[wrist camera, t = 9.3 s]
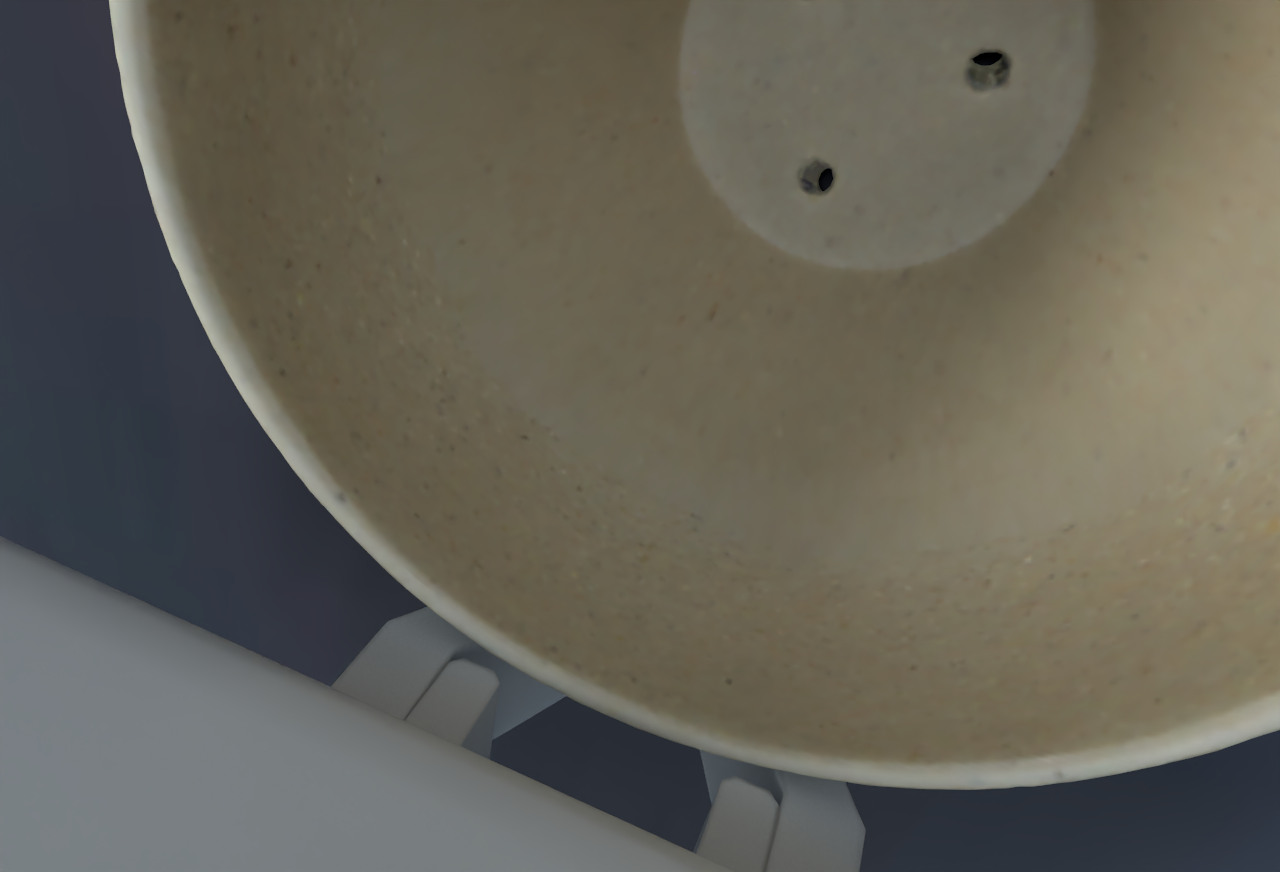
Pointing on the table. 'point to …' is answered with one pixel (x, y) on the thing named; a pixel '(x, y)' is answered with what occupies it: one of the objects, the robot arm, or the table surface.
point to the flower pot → (770, 350)
